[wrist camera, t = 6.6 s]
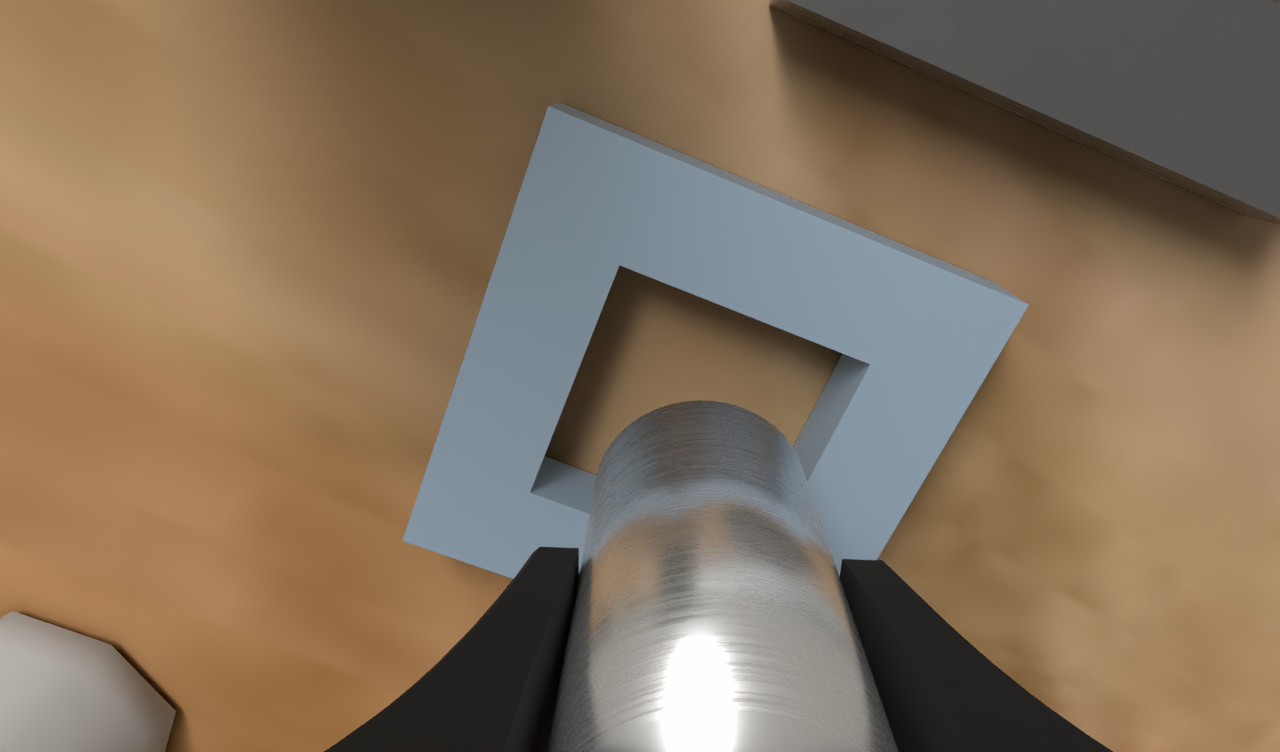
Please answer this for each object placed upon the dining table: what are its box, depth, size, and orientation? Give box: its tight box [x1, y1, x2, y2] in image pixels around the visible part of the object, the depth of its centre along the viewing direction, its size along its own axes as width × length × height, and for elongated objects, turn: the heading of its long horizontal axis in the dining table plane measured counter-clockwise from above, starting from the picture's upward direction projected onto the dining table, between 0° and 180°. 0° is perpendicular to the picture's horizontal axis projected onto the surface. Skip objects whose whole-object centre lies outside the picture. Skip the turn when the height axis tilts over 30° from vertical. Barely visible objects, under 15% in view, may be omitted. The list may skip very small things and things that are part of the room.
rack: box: [403, 103, 1028, 579], centre depth 19 cm, size 11×11×2 cm
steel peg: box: [547, 400, 898, 752], centre depth 12 cm, size 4×4×8 cm
